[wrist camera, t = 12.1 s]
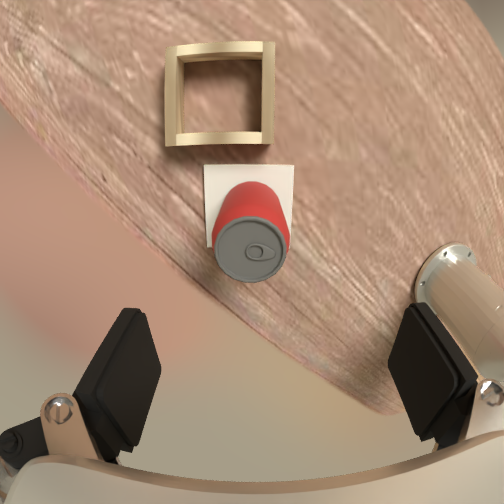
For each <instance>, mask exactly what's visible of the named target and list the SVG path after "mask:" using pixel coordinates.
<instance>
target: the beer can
mask: <svg viewBox="0 0 504 504" xmlns="http://www.w3.org/2000/svg"><path fill="white" fill-rule="evenodd" d="M211 237H212V249H213V251H214V255H215V258H216V261H217V263H218V266H219V267H220V268H221V269H222V270H223V272H224V273H225V274H227V275H228V276H230V277H231V278H233V279H235V280H238V281H241V282H248V283H256V282H260V281H263V280H266V279H268V278H270V277H271V276H273V275H275V274H276V273H277V272H278V270H279V269H280V268H281V267H282V265H283V263H284V261H285V258H286V255H287V252H288V250H289V245H290V233H289V229H288V226H287V222H286V219H285V216H284V213H283V210H282V207H281V204H280V201H279V198H278V196H277V195H276V193H275V192H274V191H273V190H272V189H271V188H270V187H268V186H267V185H266V184H263V183H260V182H257V181H247V182H243V183H240V184H238V185H236V186H235V187H233V188H232V189H231V190H230V191H229V192H228V194H227V195H226V196H225V199H224V201H223V204H222V206H221V209H220V211H219V214H218V216H217V219H216V221H215V224H214V227H213V230H212V234H211Z"/></svg>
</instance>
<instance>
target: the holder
mask: <svg viewBox="0 0 504 504" xmlns="http://www.w3.org/2000/svg"><path fill="white" fill-rule="evenodd" d="M242 59H254V60H262V90H261V132H203V133H184V64H185V63H187V62H198V61H212V60H242ZM274 102H275V42H258V41H239V42H213V43H200V44H189V45H180V46H172V47H166V55H165V147H166V146H181V145H201V144H274Z"/></svg>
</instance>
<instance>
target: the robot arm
mask: <svg viewBox="0 0 504 504" xmlns="http://www.w3.org/2000/svg"><path fill="white" fill-rule="evenodd" d="M415 300H416V302H417V303H412V304H410V305H409V308H406V310H405V312H404V316H403V319H402V322H401V325H400V328H399V331H398V334H397V337H396V340H395V343H394V345H393V348H392V351H391V354H390V356H389V359H388V368H389V371H390V373H391V375H392V378H393V380H394V382H395V385H396V387H397V389H398V392H399V394H400V397H401V399H402V402H403V404H404V407H405V409H406V412H407V414H408V417H409V419H410V422H411V425H412V427H413V430H414V432H415V434H416V435H418V436H419V437H420V440H421V442H422V441H425V440H428V439H431V438H433V437H434V438H435V441H436V443H435V445H434V448H433V450H432V453H429V454H426V455H423V456H420V457H417V458H414V459H410V460H407V461H404V462H400V463H397V464H393V465H389V466H385V467H381V468H377V469H372V470H367V471H363V472H357V473H352V474H346V475H340V476H334V477H326V478H318V479H309V480H299V481H281V482H231V481H214V480H202V479H193V478H184V477H178V476H171V475H164V474H159V473H153V472H147V471H143V470H137V469H133V468H129V467H124V466H122V464H121V462H120V460H119V458H118V455H119V453H120V450H122V451H126V452H131V453H132V451H133V447H134V446H137V445H138V444H139V441H140V438H141V435H142V431H143V428H144V425H145V421H146V418H147V415H148V412H149V409H150V405H151V402H152V399H153V396H154V393H155V390H156V387H157V384H158V380H159V378H160V375H161V364H160V361H159V358H158V355H157V352H156V349H155V345H154V342H153V339H152V335H151V332H150V328H149V325H148V321H147V318H146V315H145V313H142V312H141V310H140V309H137V308H124V309H123V310H122V311H121V313H120V314H119V316H118V317H117V319H116V321H115V322H114V324H113V325H112V327H111V329H110V331H109V332H108V334H107V336H106V337H105V339H104V340H103V342H102V344H101V345H100V347H99V348H98V350H97V352H96V353H95V355H94V357H93V359H92V360H91V362H90V364H89V366H88V367H87V369H86V371H85V373H84V375H83V377H82V378H81V380H80V382H79V384H78V385H77V387H76V389H75V391H74V393H73V395H72V396H71V395H69V394H66V393H58V394H54V395H52V396H50V397H49V398H48V399H46V400H45V402H44V403H43V405H42V407H41V410H40V417H37V418H35V419H33V420H30V421H28V422H25V423H23V424H20V425H18V426H15V427H12V428H10V429H8V430H6V431H4V432H3V433H2V434H1V435H0V504H504V386H503V385H502V384H501V383H500V382H504V290H503V289H502V288H501V287H500V286H499V285H498V284H496V283H495V282H494V281H493V280H492V279H491V276H490V275H489V274H485V273H484V272H483V271H482V270H480V269H479V268H478V267H477V264H476V258H475V255H474V253H473V251H472V250H471V249H470V248H469V247H468V246H466V245H465V244H462V243H459V242H453V243H449V244H446V245H444V246H442V247H441V248H439V249H438V250H436V251H435V252H434V253H433V254H432V255H431V256H430V257H429V258H428V259H427V261H426V262H425V263H424V265H423V266H422V268H421V270H420V272H419V274H418V277H417V280H416V283H415ZM436 315H438V316H439V317H440V318H441V320H442V321H443V322H444V324H445V325H446V326H447V328H448V329H449V330H450V332H451V333H452V334H453V336H454V337H455V339H456V340H457V341H458V343H459V344H460V346H461V347H462V348H463V350H464V351H465V353H466V354H467V356H468V357H469V358H470V360H471V361H472V363H473V364H474V366H475V367H476V369H477V370H478V372H479V373H480V374H481V375H482V376H483V377H484V378H486V379H484V380H482V381H480V382H479V383H477V381H476V380H477V378H478V375H477V373H476V372H475V370H474V369H473V367H472V366H471V364H470V363H469V361H468V360H467V358H466V357H465V355H464V354H463V352H462V351H461V349H460V348H459V346H458V345H457V344H456V342H455V341H454V339H453V338H452V337H451V335H450V334H449V332H448V331H447V330H446V328H445V327H444V326H443V324H442V323H441V321H440V320H439V319H438V317H437V316H436Z"/></svg>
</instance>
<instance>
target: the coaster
mask: <svg viewBox="0 0 504 504" xmlns="http://www.w3.org/2000/svg"><path fill="white" fill-rule="evenodd" d="M293 178H294V165H280V164H204V189H205V214H206V235H207V247H212V237H211V234H212V230H213V227H214V224H215V221H216V219H217V216H218V214H219V211H220V209H221V206H222V204H223V201H224V199H225V196H226V195H227V194H228V192H229V191H230V190H231V189H232V188H233V187H235V186H236V185H238V184H240V183H243V182H247V181H257V182H260V183H263V184H266V185H267V186H268V187H270V188H271V189H272V190H273V191H274V192H275V193H276V195H277V196H278V198H279V201H280V204H281V207H282V210H283V213H284V216H285V219H286V222H287V226H288V229H289V233H290V234H291V218H292V199H293ZM289 248H290V245H289Z"/></svg>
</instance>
